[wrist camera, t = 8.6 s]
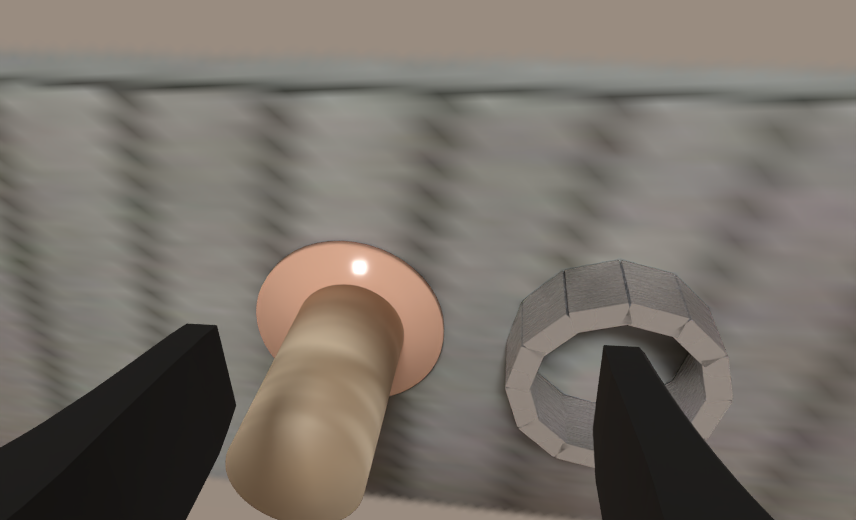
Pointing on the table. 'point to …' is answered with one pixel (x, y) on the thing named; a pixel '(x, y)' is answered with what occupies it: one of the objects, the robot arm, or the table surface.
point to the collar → (603, 308)
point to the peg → (319, 408)
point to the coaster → (365, 270)
